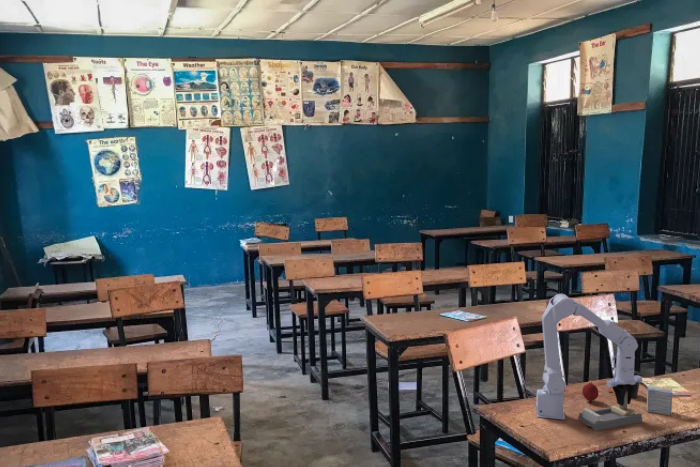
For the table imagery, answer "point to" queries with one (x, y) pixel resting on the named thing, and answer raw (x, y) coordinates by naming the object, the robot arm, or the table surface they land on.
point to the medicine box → (659, 400)
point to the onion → (590, 391)
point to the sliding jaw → (622, 408)
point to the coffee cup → (636, 384)
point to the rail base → (607, 418)
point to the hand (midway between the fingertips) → (623, 403)
